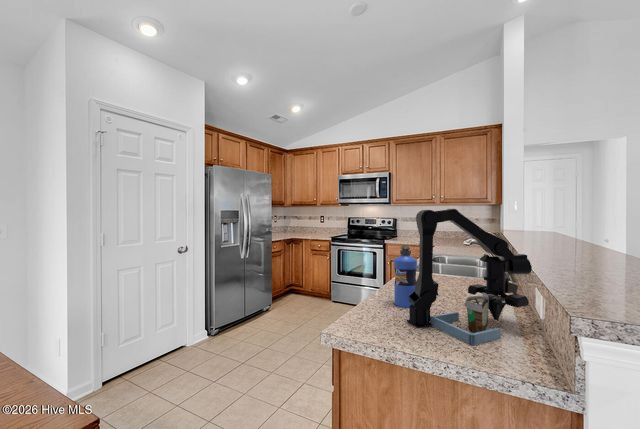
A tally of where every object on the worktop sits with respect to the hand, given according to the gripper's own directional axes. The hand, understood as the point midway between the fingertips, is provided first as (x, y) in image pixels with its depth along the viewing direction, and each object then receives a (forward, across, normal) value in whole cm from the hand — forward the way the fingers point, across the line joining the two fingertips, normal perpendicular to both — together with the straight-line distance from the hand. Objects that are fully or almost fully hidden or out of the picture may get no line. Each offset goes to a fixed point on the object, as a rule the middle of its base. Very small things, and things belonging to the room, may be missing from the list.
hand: (496, 319), depth 103 cm
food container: (+2, 0, +10) cm, 10 cm away
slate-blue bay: (+2, 0, +15) cm, 15 cm away
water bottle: (+2, +30, +15) cm, 34 cm away
